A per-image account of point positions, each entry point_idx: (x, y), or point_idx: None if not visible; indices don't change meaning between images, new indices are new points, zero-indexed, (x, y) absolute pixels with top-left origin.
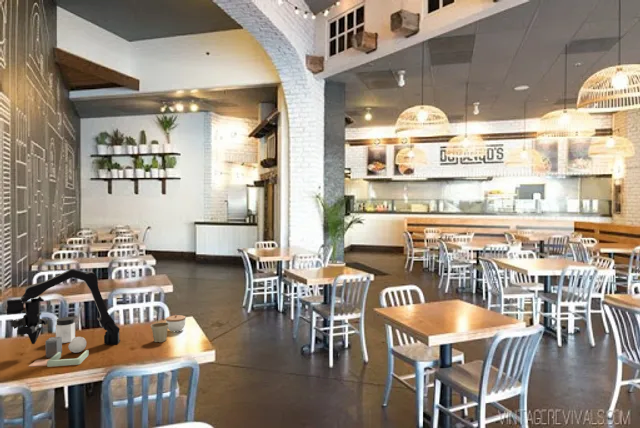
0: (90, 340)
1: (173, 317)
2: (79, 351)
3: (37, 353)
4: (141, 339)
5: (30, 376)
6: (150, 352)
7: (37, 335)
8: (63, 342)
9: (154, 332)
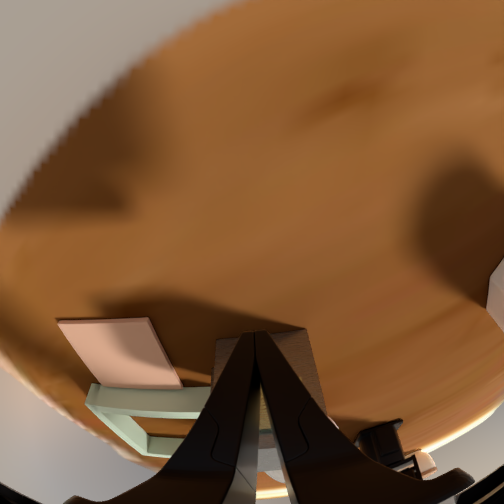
0: (458, 366)
1: None
2: None
3: (336, 235)
4: None
5: (13, 358)
6: None
7: (278, 456)
8: (490, 287)
9: None
